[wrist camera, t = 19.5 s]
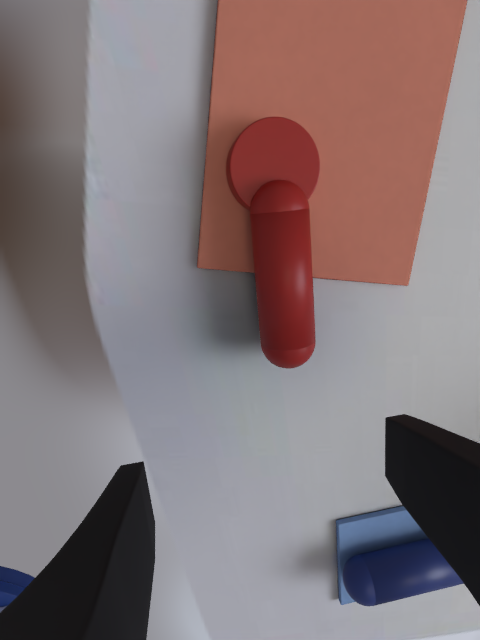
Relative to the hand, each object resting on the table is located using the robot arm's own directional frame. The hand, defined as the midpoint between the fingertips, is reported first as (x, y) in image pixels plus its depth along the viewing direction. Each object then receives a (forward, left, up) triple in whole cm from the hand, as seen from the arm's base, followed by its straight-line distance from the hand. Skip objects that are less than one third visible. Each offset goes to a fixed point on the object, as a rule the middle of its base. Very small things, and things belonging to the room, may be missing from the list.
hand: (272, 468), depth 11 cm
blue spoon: (+10, -15, -9) cm, 20 cm away
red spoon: (+3, +5, -9) cm, 11 cm away
